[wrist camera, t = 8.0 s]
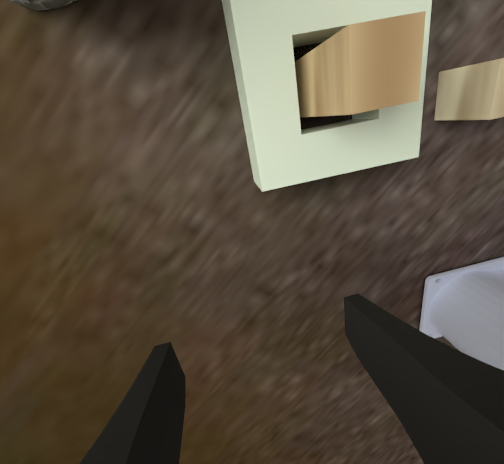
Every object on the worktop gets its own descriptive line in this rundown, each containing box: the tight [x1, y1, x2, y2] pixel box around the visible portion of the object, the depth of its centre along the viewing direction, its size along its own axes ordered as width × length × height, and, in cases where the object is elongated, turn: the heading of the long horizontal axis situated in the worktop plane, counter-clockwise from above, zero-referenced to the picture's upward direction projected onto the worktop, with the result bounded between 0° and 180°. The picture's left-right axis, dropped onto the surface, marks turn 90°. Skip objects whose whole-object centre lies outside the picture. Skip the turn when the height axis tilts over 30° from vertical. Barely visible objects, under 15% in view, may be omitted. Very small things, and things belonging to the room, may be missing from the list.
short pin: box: [434, 58, 504, 120], centre depth 16 cm, size 3×3×4 cm
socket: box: [222, 0, 432, 192], centre depth 15 cm, size 10×10×3 cm
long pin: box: [295, 11, 426, 117], centre depth 13 cm, size 3×3×7 cm
